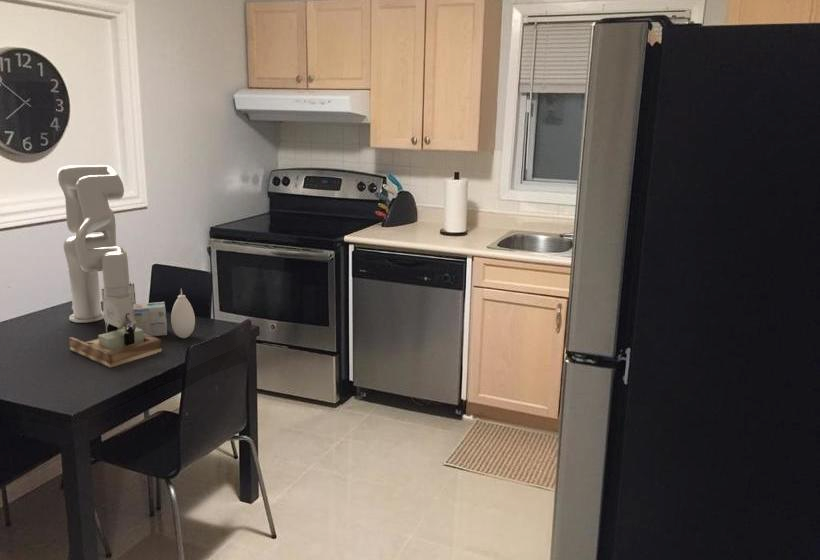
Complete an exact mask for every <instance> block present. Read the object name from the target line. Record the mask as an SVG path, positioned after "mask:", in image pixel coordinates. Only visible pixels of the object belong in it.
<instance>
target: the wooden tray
mask: <svg viewBox="0 0 820 560" xmlns="http://www.w3.org/2000/svg"><path fill="white" fill-rule="evenodd" d="M126 328H127V327H126ZM120 329H123V327H121V328H118V330H120ZM143 335H144V342H143V343H139V344H136V345H132V346H129V347H126V348H122V349H119V350H115V351H111V350H109V349H107V348H104V347H102V346H99V339H98V338H96V339H91V340H89V341H83V340H81V339H78V338H75V337H74V336H71V337H69V338H68V341H69V342H68V343H69V350H70V351H72V352H74V353H77V354H79V355H82V356H84V357H86V358H88V359H90V360H92V361H95V362H97V363H99V364H102V365H104V366H106V367H108V368H113V367H117V366H119V365H123V364H126V363H130V362H133V361H136V360H139V359H143V358H145V357H150V356H151V355H155V354H158V352H159V353H161V351H162V352H163V349H162V339H160V338H157V337H156V336H150V335H147V334H145V333H143Z"/></svg>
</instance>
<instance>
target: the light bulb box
mask: <svg viewBox="0 0 820 560" xmlns="http://www.w3.org/2000/svg"><path fill="white" fill-rule="evenodd" d="M133 315H134V320H135V321H136V323H137V324H136V327H137V328H139V329H142V330H143V333H145V334H147V335H150V336H153V337H158V336H159V337H160V336H167V335H168V321H167V310H166V302H165V301H158V302H149V303H148V302H147V303H146V302H145V303H136V304H134V306H133Z"/></svg>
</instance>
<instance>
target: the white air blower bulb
mask: <svg viewBox="0 0 820 560" xmlns="http://www.w3.org/2000/svg"><path fill="white" fill-rule="evenodd" d="M170 322H171V328H172V331H173V333H174V334H175V335H176V336H178V337H179V338H181V339H186V338H188V337H190V335H191V334H193V331H194V329H195V325H196V318H195V311H194V309H193V306H192V304H191V303H190V301H189V300H188V298H187V297H186V295H185V294H183V290H182V288H180V294H179V295H177V299H176V300H175V302H174V304H173V306H172V310H171V314H170Z"/></svg>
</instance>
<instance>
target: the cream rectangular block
mask: <svg viewBox="0 0 820 560" xmlns="http://www.w3.org/2000/svg"><path fill="white" fill-rule="evenodd" d="M128 328H129V327H127V330H128ZM124 334H125V332H124V330H123V329H120V330H116V331H112V332H108V333H106V332H104V333H102V334H98V335H97V336H98V337H97V339H99V346H102V347H104V348H107V349H109V350H111V351H115V350H119V349H122V348H126V347H129V346H132V345H136V344H139V343H143V342H144V335H143V330H142V329H139V328H137V327H136V329H135V332H134V338H135V343H134V344H131V345H127V346H126V345H125V341H124Z"/></svg>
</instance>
